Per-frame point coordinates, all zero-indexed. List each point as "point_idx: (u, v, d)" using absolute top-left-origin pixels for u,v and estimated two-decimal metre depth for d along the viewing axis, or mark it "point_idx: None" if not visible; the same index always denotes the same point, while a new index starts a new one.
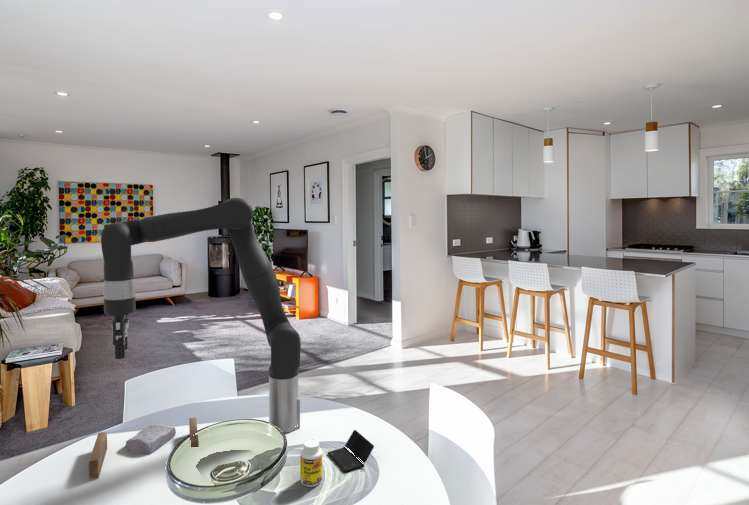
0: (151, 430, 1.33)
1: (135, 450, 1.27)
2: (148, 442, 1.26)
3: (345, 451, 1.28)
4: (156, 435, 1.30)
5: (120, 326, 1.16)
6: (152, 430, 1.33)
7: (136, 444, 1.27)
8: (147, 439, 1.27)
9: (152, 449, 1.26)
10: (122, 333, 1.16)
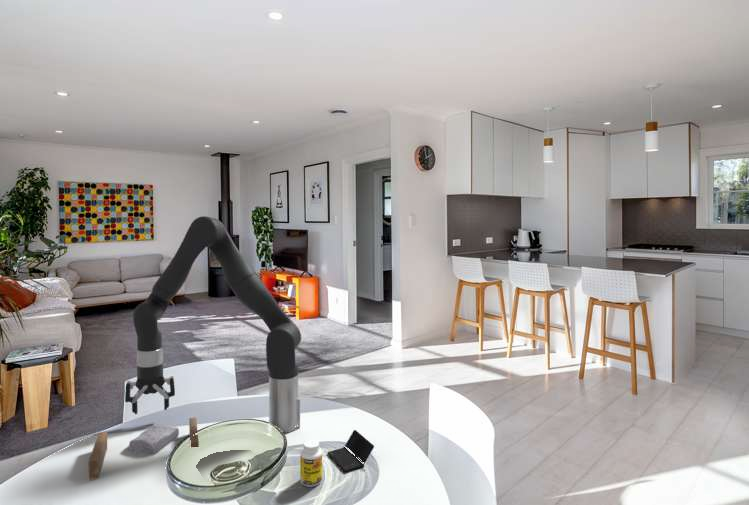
0: (154, 430, 1.33)
1: (138, 451, 1.27)
2: (151, 442, 1.26)
3: (345, 451, 1.28)
4: (159, 436, 1.29)
5: (173, 379, 1.46)
6: (155, 430, 1.33)
7: (139, 445, 1.27)
8: (151, 440, 1.27)
9: (156, 450, 1.26)
10: None
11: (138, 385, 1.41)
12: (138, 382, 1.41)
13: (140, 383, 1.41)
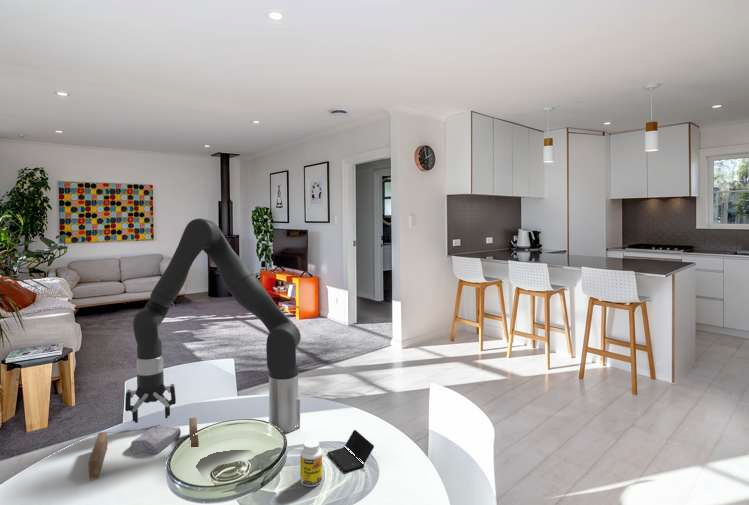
0: (156, 431, 1.33)
1: (140, 451, 1.26)
2: (153, 443, 1.26)
3: (345, 451, 1.28)
4: (161, 436, 1.29)
5: (174, 387, 1.44)
6: (157, 431, 1.33)
7: (141, 445, 1.27)
8: (153, 440, 1.26)
9: (158, 450, 1.26)
10: None
11: (138, 393, 1.39)
12: (138, 390, 1.39)
13: (140, 391, 1.39)
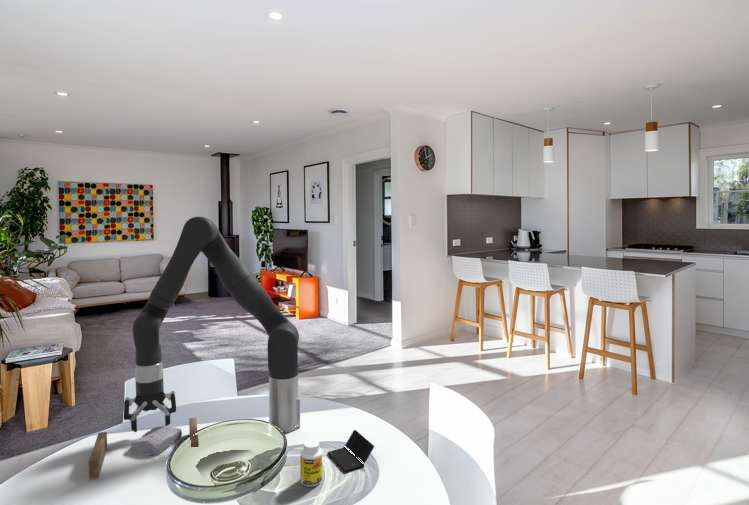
0: (157, 432, 1.33)
1: (142, 452, 1.26)
2: (155, 443, 1.25)
3: (345, 451, 1.28)
4: (163, 437, 1.29)
5: (174, 394, 1.39)
6: (158, 432, 1.33)
7: (143, 446, 1.26)
8: (154, 441, 1.26)
9: (159, 451, 1.26)
10: None
11: (137, 402, 1.33)
12: (137, 398, 1.33)
13: (139, 399, 1.33)
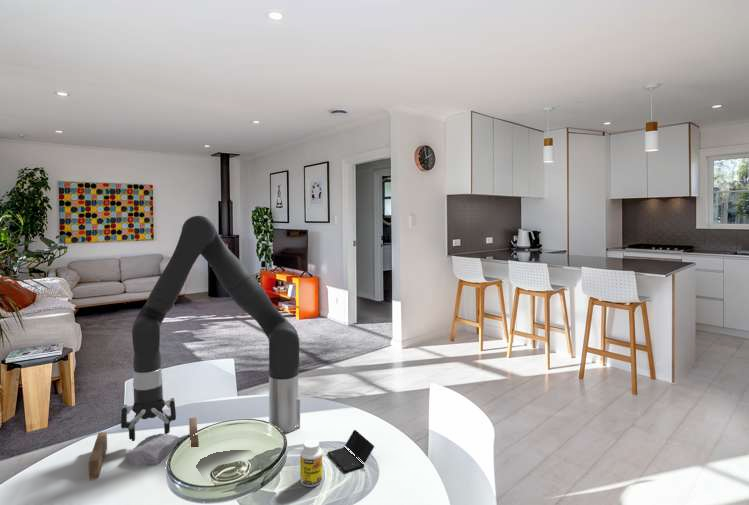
0: (153, 440, 1.27)
1: (139, 462, 1.21)
2: (153, 453, 1.20)
3: (345, 451, 1.28)
4: (160, 445, 1.24)
5: (174, 402, 1.33)
6: (154, 440, 1.27)
7: (140, 456, 1.21)
8: (152, 450, 1.21)
9: (158, 460, 1.21)
10: None
11: (135, 409, 1.28)
12: (135, 406, 1.28)
13: (137, 407, 1.28)
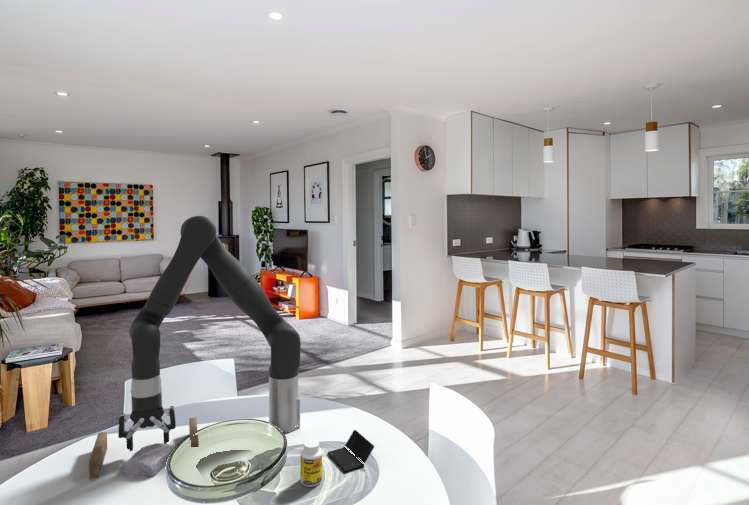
0: (149, 450, 1.22)
1: (135, 474, 1.15)
2: (150, 464, 1.15)
3: (345, 451, 1.28)
4: (157, 456, 1.19)
5: None
6: (150, 450, 1.22)
7: (136, 468, 1.16)
8: (149, 461, 1.16)
9: (155, 472, 1.16)
10: None
11: (133, 418, 1.22)
12: (133, 414, 1.22)
13: (135, 416, 1.23)
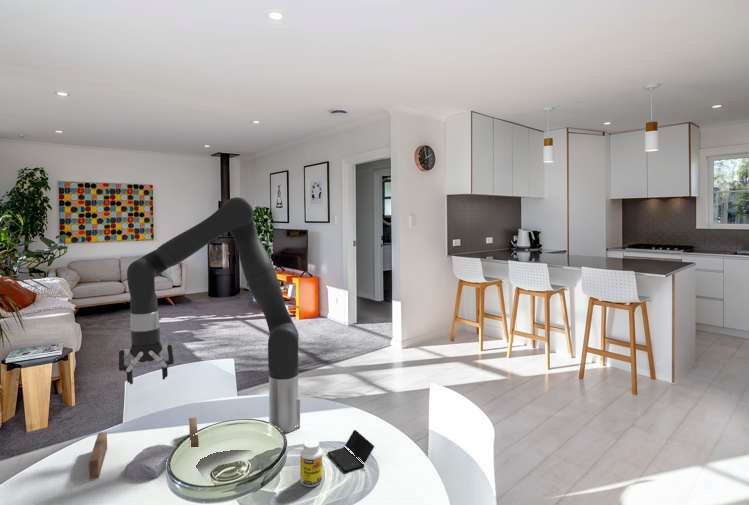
0: (151, 452, 1.21)
1: (137, 476, 1.15)
2: (153, 465, 1.15)
3: (345, 451, 1.28)
4: (160, 457, 1.18)
5: None
6: (153, 452, 1.21)
7: (138, 469, 1.15)
8: (152, 463, 1.15)
9: (158, 473, 1.15)
10: None
11: (133, 352, 1.28)
12: (133, 349, 1.28)
13: (135, 350, 1.28)
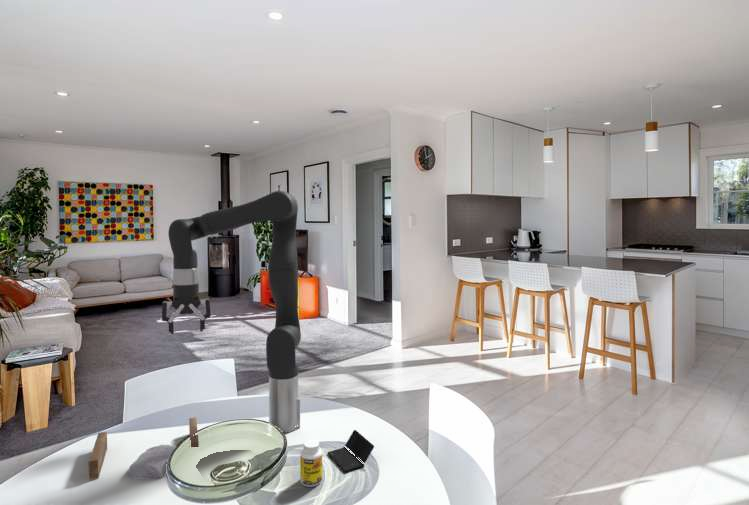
0: (155, 452, 1.21)
1: (142, 476, 1.15)
2: (157, 465, 1.15)
3: (345, 451, 1.28)
4: (164, 457, 1.18)
5: None
6: (156, 452, 1.21)
7: (142, 469, 1.15)
8: (156, 463, 1.15)
9: (162, 473, 1.15)
10: None
11: (174, 304, 1.39)
12: (174, 301, 1.39)
13: (176, 302, 1.39)
